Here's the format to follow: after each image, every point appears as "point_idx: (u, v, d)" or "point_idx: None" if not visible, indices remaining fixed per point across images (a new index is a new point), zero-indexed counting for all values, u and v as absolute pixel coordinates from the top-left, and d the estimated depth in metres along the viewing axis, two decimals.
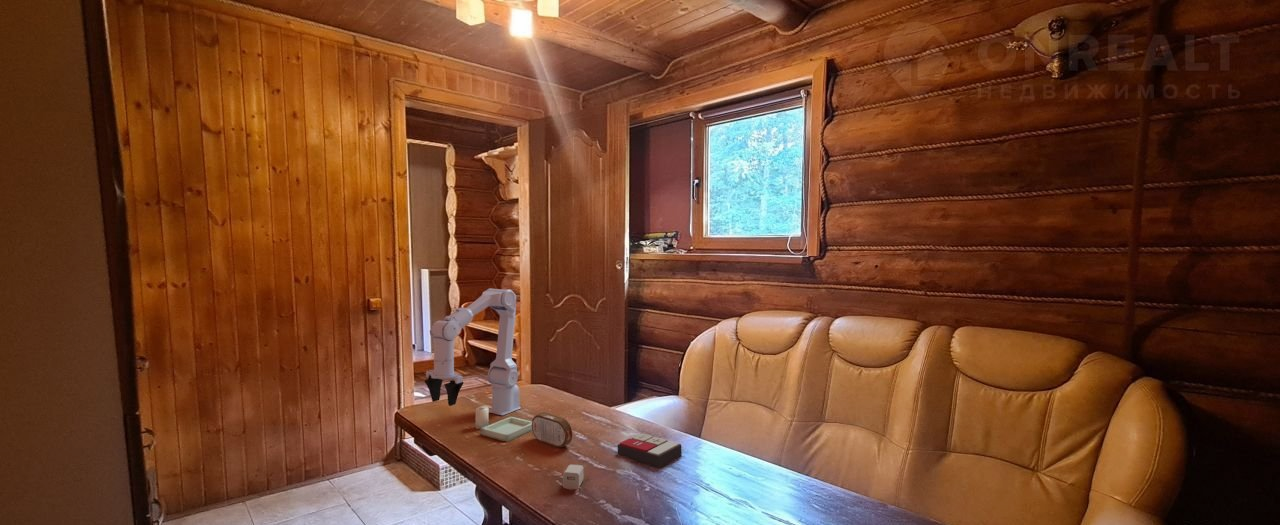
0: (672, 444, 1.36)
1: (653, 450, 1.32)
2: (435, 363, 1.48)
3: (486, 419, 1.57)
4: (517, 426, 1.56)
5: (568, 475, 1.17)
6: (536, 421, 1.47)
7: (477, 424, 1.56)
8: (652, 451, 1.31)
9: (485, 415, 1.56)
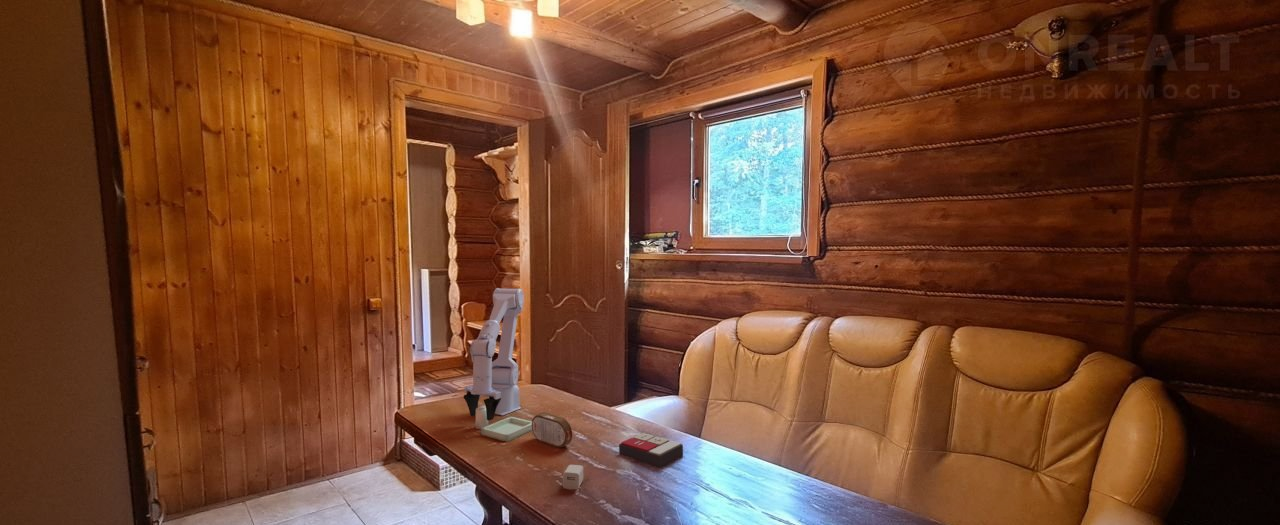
0: (673, 444, 1.36)
1: (654, 450, 1.32)
2: (474, 379, 1.55)
3: (486, 419, 1.57)
4: (517, 426, 1.56)
5: (568, 475, 1.17)
6: (536, 421, 1.47)
7: (477, 424, 1.56)
8: (653, 451, 1.32)
9: (485, 415, 1.56)
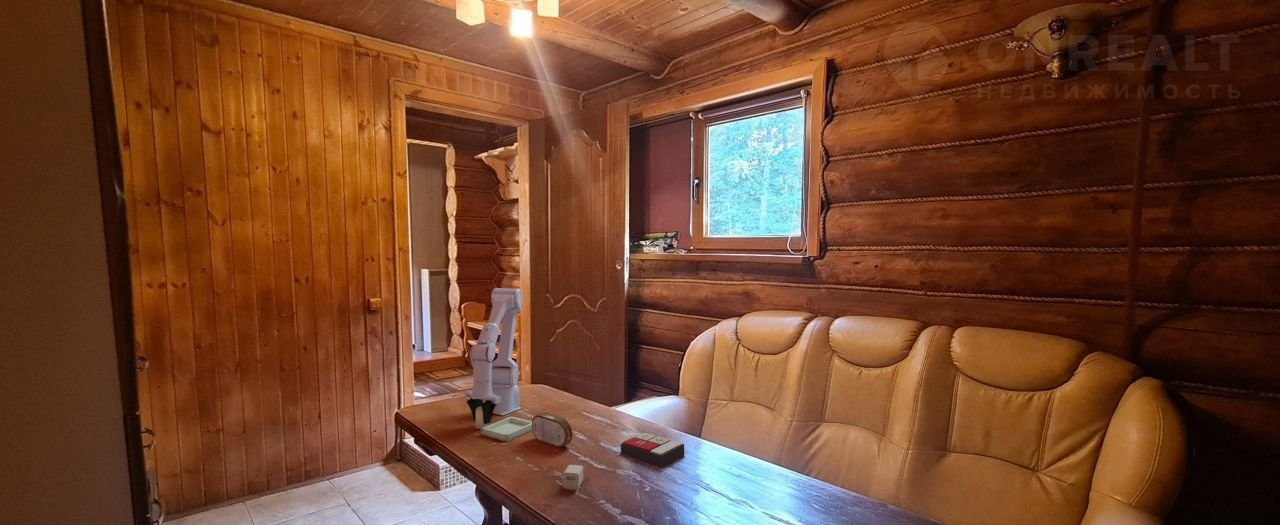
0: (675, 444, 1.36)
1: (656, 449, 1.32)
2: (474, 384, 1.55)
3: None
4: (517, 426, 1.56)
5: (568, 475, 1.17)
6: (536, 421, 1.47)
7: (477, 424, 1.56)
8: (655, 450, 1.32)
9: None
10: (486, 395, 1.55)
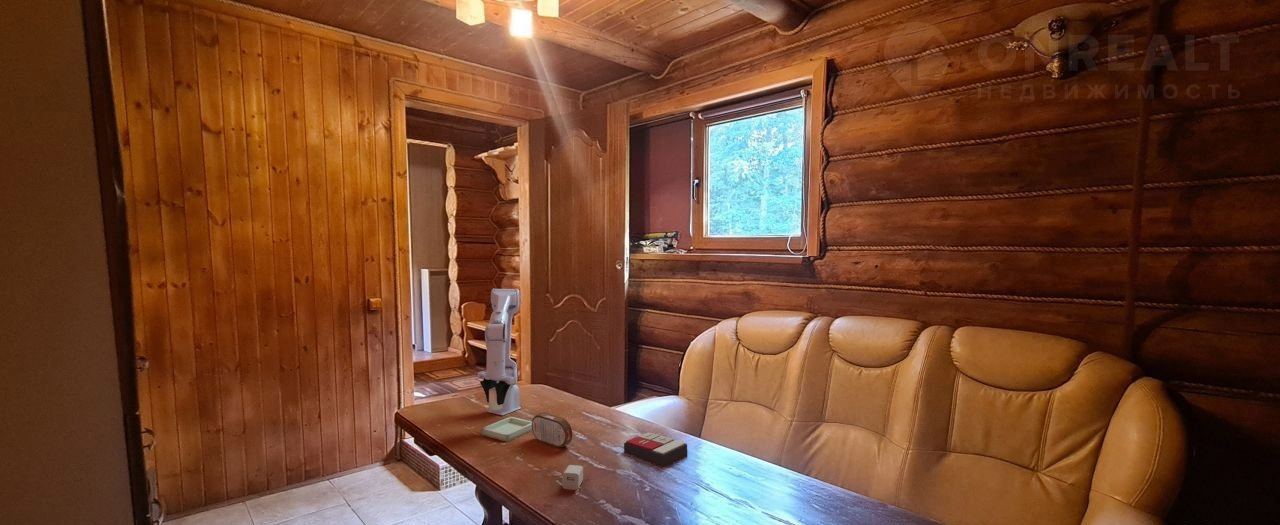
0: (678, 443, 1.37)
1: (658, 449, 1.33)
2: (488, 364, 1.53)
3: None
4: (517, 426, 1.56)
5: (568, 475, 1.17)
6: (536, 421, 1.47)
7: (490, 405, 1.54)
8: (657, 450, 1.32)
9: None
10: (500, 376, 1.53)
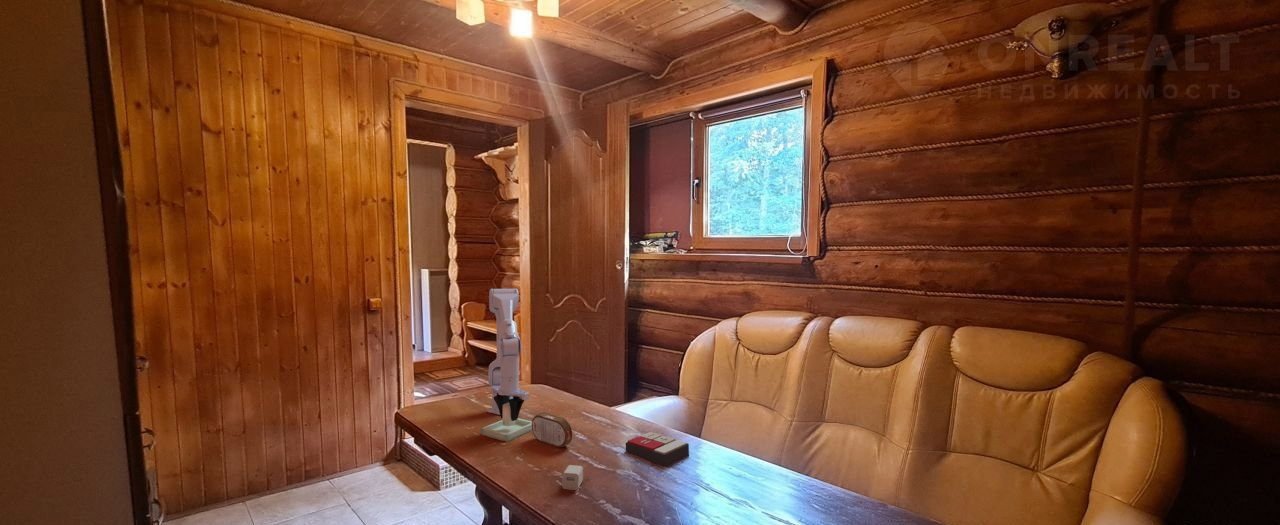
0: (679, 443, 1.37)
1: (660, 448, 1.33)
2: (502, 380, 1.51)
3: None
4: (517, 426, 1.56)
5: (567, 476, 1.17)
6: (536, 421, 1.47)
7: (504, 421, 1.52)
8: (658, 449, 1.32)
9: None
10: (514, 391, 1.51)
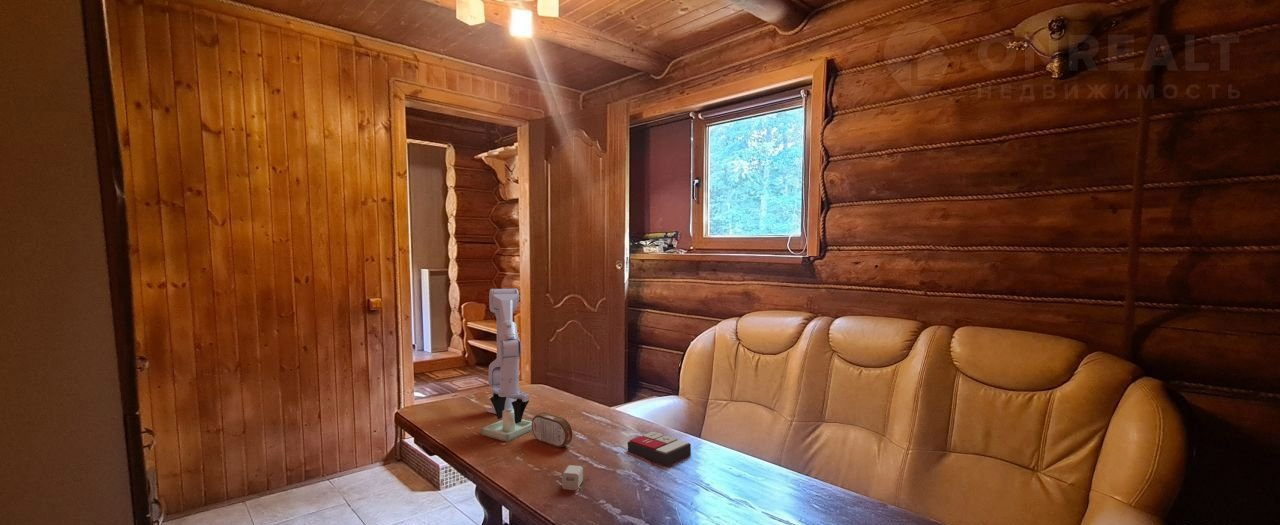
0: (681, 443, 1.37)
1: (661, 448, 1.33)
2: (502, 381, 1.51)
3: (513, 422, 1.53)
4: (517, 426, 1.56)
5: (567, 476, 1.17)
6: (536, 421, 1.47)
7: (504, 427, 1.52)
8: (660, 449, 1.33)
9: (512, 418, 1.52)
10: (514, 393, 1.51)
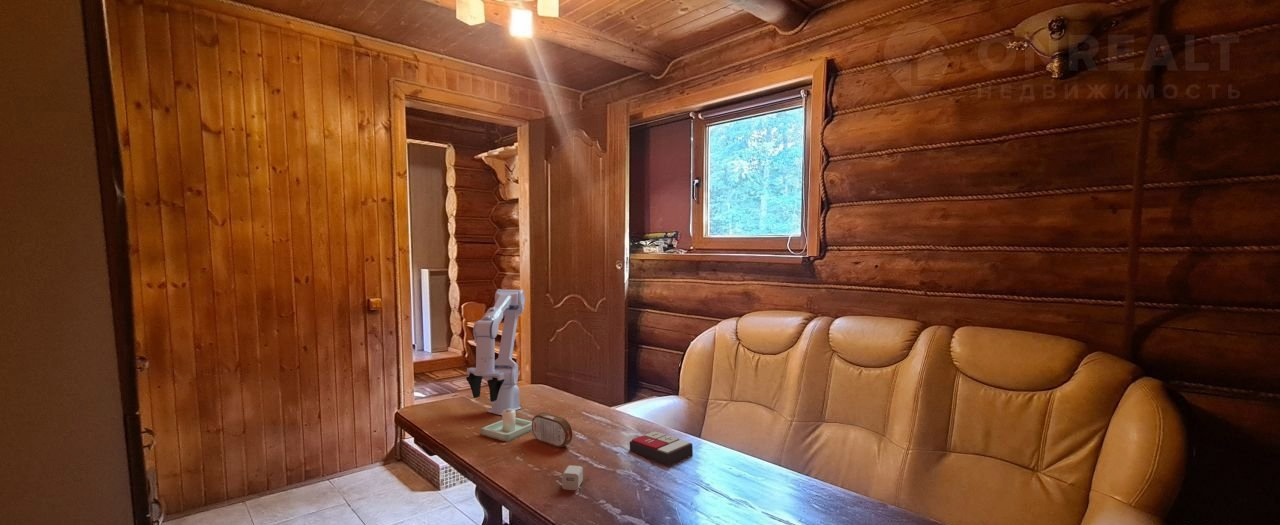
0: (683, 443, 1.37)
1: (663, 448, 1.34)
2: (477, 361, 1.54)
3: (513, 422, 1.53)
4: (517, 426, 1.56)
5: (567, 476, 1.17)
6: (536, 421, 1.47)
7: (504, 427, 1.52)
8: (662, 449, 1.33)
9: (512, 418, 1.52)
10: (489, 372, 1.54)
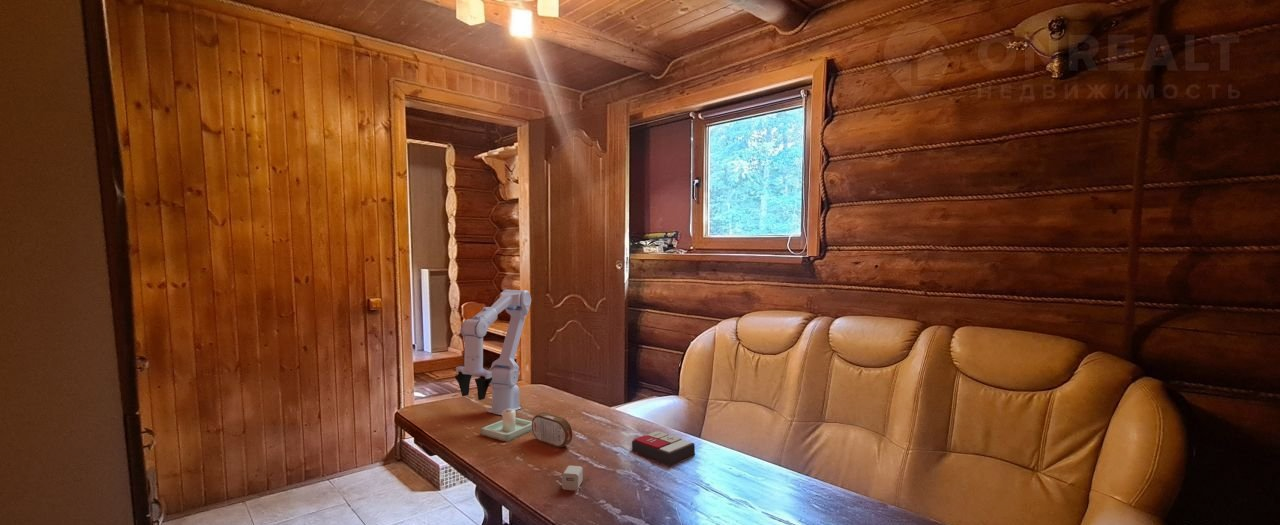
0: (685, 443, 1.37)
1: (665, 447, 1.34)
2: (466, 359, 1.56)
3: (513, 422, 1.53)
4: (517, 426, 1.56)
5: (567, 476, 1.16)
6: (536, 421, 1.47)
7: (504, 427, 1.52)
8: (664, 448, 1.33)
9: (512, 418, 1.52)
10: (477, 370, 1.56)
